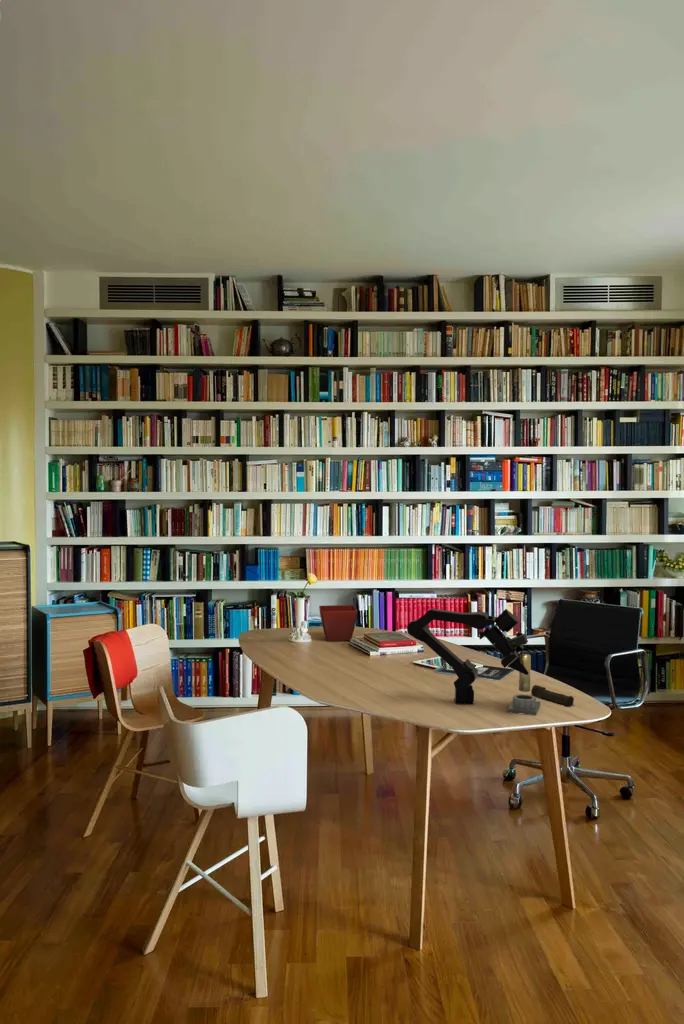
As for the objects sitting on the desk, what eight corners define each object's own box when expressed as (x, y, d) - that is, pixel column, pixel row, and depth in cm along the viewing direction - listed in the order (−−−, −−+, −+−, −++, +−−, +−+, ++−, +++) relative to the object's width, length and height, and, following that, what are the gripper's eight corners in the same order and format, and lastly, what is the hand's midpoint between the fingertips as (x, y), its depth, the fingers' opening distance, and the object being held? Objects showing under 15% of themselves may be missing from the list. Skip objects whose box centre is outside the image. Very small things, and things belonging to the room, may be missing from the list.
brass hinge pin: (520, 691, 280) (520, 656, 280) (517, 688, 284) (518, 653, 284) (531, 691, 280) (531, 656, 280) (528, 688, 284) (529, 653, 284)
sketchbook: (499, 682, 323) (499, 677, 323) (432, 674, 338) (432, 669, 338) (514, 671, 342) (514, 667, 342) (450, 664, 357) (450, 659, 356)
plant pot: (320, 643, 402) (320, 610, 401) (318, 636, 421) (319, 605, 420) (357, 642, 403) (357, 610, 403) (353, 635, 422) (353, 605, 422)
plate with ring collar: (507, 712, 278) (507, 700, 277) (513, 702, 291) (513, 691, 290) (535, 715, 274) (536, 703, 274) (540, 705, 287) (540, 693, 287)
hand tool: (574, 706, 287) (574, 693, 287) (567, 707, 285) (567, 695, 285) (536, 694, 303) (536, 683, 303) (529, 696, 301) (529, 684, 301)
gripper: (510, 630, 274) (542, 664, 270) (518, 622, 291) (547, 653, 288) (488, 650, 277) (518, 684, 274) (497, 641, 295) (525, 672, 291)
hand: (528, 672), depth 281 cm, fingers closed on brass hinge pin, 4 cm apart
